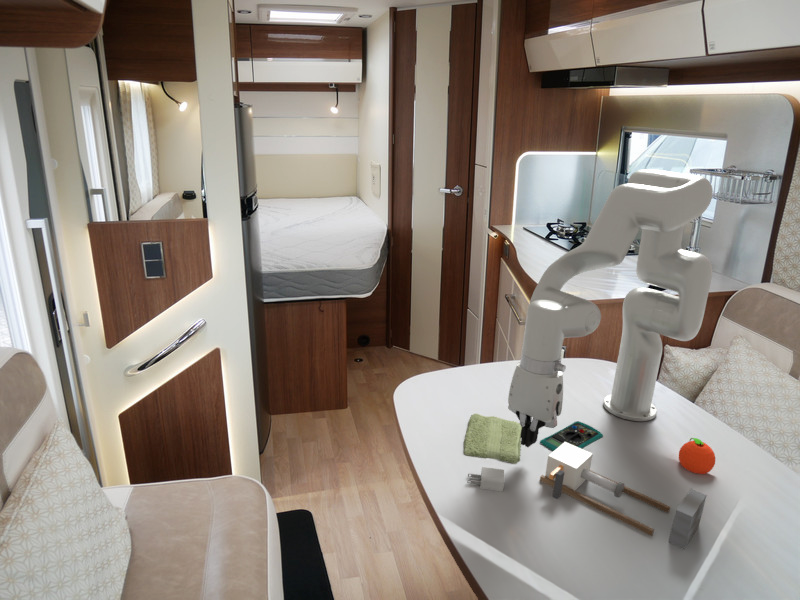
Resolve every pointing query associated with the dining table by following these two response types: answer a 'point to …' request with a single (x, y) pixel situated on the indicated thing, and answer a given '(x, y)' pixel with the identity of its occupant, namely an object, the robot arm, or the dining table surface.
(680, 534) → the wooden rail slider
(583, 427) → the digital multimeter
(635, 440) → the dining table surface
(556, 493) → the dark grey block
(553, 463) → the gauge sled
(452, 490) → the dining table surface
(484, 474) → the usb wall charger
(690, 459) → the clementine
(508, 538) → the dining table surface
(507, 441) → the washcloth
